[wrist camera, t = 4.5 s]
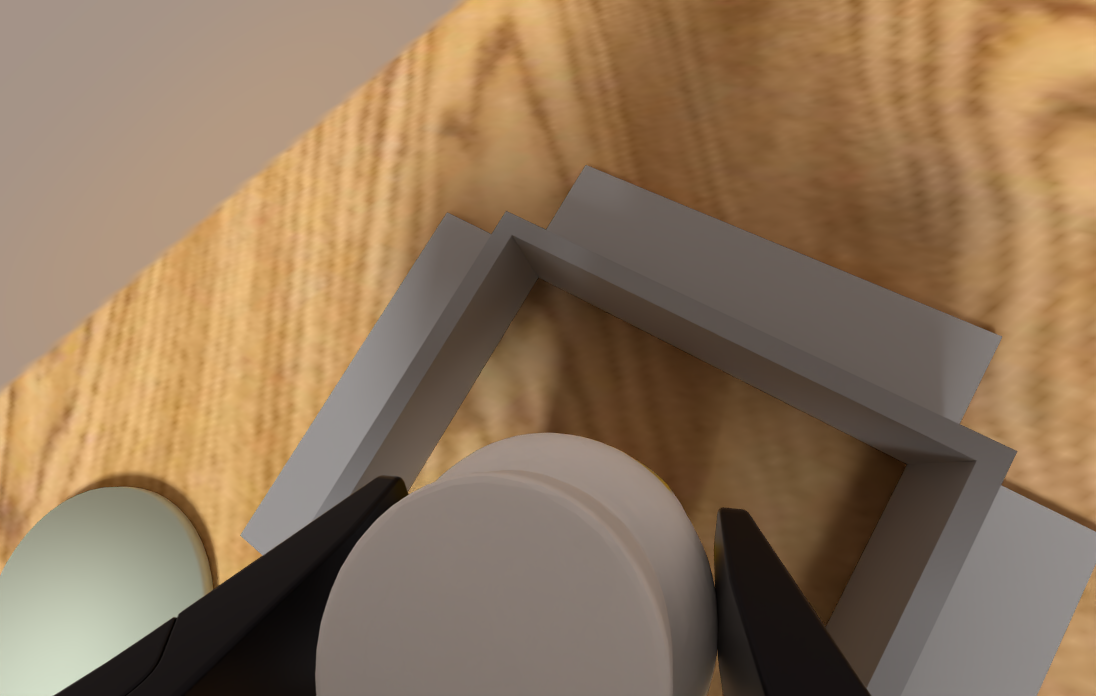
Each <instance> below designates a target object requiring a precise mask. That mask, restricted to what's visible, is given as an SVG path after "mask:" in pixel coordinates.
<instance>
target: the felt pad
mask: <svg viewBox="0 0 1096 696" xmlns="http://www.w3.org/2000/svg"><path fill="white" fill-rule="evenodd" d="M212 590H213V583H212V575H211V570H210V566H209V561H208V558H207V555H206V552H205V549H204V546H203V543H202V541H201V539H200V537H199V535H198V533H197V531H196V529H195V528H194V526H193V525H192V523H191V522H190V520H189V519H188V517H187V516H186V515H185V514H184V513H183V512H182V511H181V510H180V509H179V508H178V507H177V506H176V505H175V504H173V503H172V502H171V501H170V500H168V499H167V498H165V497H163V496H161V495H159V494H157V493H155V492H153V491H149V490H146V489H143V488H136V487H104V488H99V489H94V490H89V491H87V492H84V493H81V494H79V495H76V496H74V497H72V498H70V499H68V500H66V501H65V502H63V503H61V504H60V505H58V506H57V507H56V508H54V509H53V510H51V511H50V512H49V513H48V514H46V515H45V516H44V517H43V518H42V519H41V520H40V521H39V522H37V524H36V525H35V526H34V527H33V528H32V529H31V530H30V531H29V532H28V533H27V534H26V536H25V537H24V538H23V540H22V541H21V542H20V544H19V545H18V546H17V547H16V549H15V550H14V552H13V554H12V555H11V557H10V558H9V560H8V562H7V563H6V565H5V567H4V569H3V571H2V573H1V575H0V696H53V695H55V694H57V693H58V692H60V691H61V690H63V689H65V688H66V687H68V686H69V685H71V684H73V683H74V682H76V681H77V680H79V679H81V678H82V677H84V676H85V675H87V674H88V673H90V672H92V671H93V670H95V669H96V668H98V667H100V666H101V665H103V664H104V663H106V662H107V661H109V660H110V659H112V658H113V657H115V656H116V655H118V654H119V653H121V652H122V651H124V650H125V649H127V648H128V647H130V646H131V645H133V644H134V643H136V642H137V641H139V640H140V639H142V638H143V637H145V636H146V635H148V634H149V633H151V632H152V631H154V630H155V629H157V628H158V627H159V626H161V625H162V624H164V623H165V622H167V621H168V620H170V619H171V618H173V617H177V616H178V614H179V613H180V612H181V611H183V610H184V609H186V608H187V607H189V606H190V605H192V604H193V603H195V602H196V601H197V600H199V599H200V598H202V597H203V596H205V595H206V594H208V593H209V592H211V591H212Z"/></svg>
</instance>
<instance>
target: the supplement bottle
mask: <svg viewBox="0 0 1096 696" xmlns="http://www.w3.org/2000/svg"><path fill="white" fill-rule="evenodd" d="M717 644H718V612H717V597H716V591H715V586H714V582H713V577H712V573H711V569H710V565H709V561H708V557H707V555H706V552H705V550H704V547H703V545H702V543H701V541H700V539H699V537H698V535H697V533H696V531H695V529H694V527H693V525H692V523H691V521H690V520H689V518H688V516H687V515H686V513H685V511H684V509H683V507H682V505H681V503H680V502H679V500H678V499H677V497H676V496H675V495H674V493H673V492H672V490H671V489H670V488H669V486H668V485H667V483H665V482H664V481H663V479H661V478H660V477H659V476H658V475H657V474H656V473H655V472H653V471H652V470H651V469H650V468H648V467H647V466H645V465H644V464H642V463H640V462H639V461H637V460H636V459H634V458H632V457H631V456H629V455H628V454H626V453H624V452H623V451H621V450H619V449H617V448H614V447H612V446H610V445H607V444H604V443H602V442H599V441H596V440H593V439H589V438H586V437H582V436H576V435H570V434H560V433H534V434H525V435H519V436H514V437H511V438H507V439H503V440H500V441H497V442H494V443H491V444H489V445H487V446H485V447H483V448H481V449H479V450H477V451H475V452H473V453H472V454H470V455H469V456H467V457H466V458H464V459H463V460H461V461H460V462H458V463H457V464H455V465H454V466H453V467H451V468H450V469H449V470H448V471H446V472H445V473H444V474H443V475H442V476H440V477H439V478H438V479H437V480H436V481H435V482H433V483H431V484H428V485H426V486H424V487H422V488H420V489H418V490H416V491H414V492H412V493H411V494H409V495H408V496H406V497H404V498H403V499H401V500H400V501H398V502H397V503H396V504H394V505H393V506H391V507H390V508H389V509H388V510H387V511H386V512H385V513H383V514H382V515H381V516H380V517H379V518H378V519H377V520H376V521H375V522H374V523H373V524H372V525H371V526H370V527H369V529H368V530H367V531H366V532H365V533H364V534H363V536H362V537H361V538H360V539H359V540H358V542H357V543H356V545H355V546H354V548H353V549H352V551H351V552H350V554H349V555H348V557H347V559H346V560H345V562H344V564H343V565H342V567H341V569H340V571H339V573H338V575H337V578H336V580H335V582H334V585H333V587H332V589H331V592H330V595H329V598H328V601H327V604H326V607H325V610H324V614H323V617H322V620H321V625H320V631H319V637H318V644H317V650H316V672H315V681H316V696H707V693H708V691H709V687H710V684H711V680H712V677H713V673H714V667H715V661H716V656H717Z"/></svg>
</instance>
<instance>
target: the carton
mask: <svg viewBox="0 0 1096 696" xmlns="http://www.w3.org/2000/svg"><path fill="white" fill-rule="evenodd" d="M538 277H539V278H541V279H543V280H545V281H546V282H548V283H550V284H552V285H554V286H556V287H558V288H560V289H562V290H564V291H566V292H568V293H570V294H572V295H574V296H576V297H578V298H580V299H582V300H584V301H586V302H588V303H590V304H592V305H594V306H596V307H598V308H600V309H602V310H604V311H606V312H608V313H610V314H612V315H614V316H616V317H617V318H619V319H621V320H623V321H625V322H627V323H629V324H631V325H633V326H635V327H637V328H639V329H641V330H643V331H645V332H647V333H649V334H651V335H653V336H655V337H657V338H659V339H661V340H663V341H665V342H667V343H669V344H671V345H673V346H675V347H677V348H679V349H681V350H683V351H685V352H687V353H689V354H690V355H692V356H694V357H696V358H698V359H700V360H702V361H704V362H706V363H708V364H710V365H712V366H714V367H716V368H718V369H720V370H722V371H724V372H726V373H728V374H730V375H732V376H734V377H736V378H738V379H740V380H742V381H744V382H746V383H748V384H750V385H752V386H754V387H756V388H758V389H760V390H762V391H763V392H765V393H767V394H769V395H771V396H773V397H775V398H777V399H779V400H781V401H783V402H785V403H787V404H789V405H791V406H793V407H795V408H797V409H799V410H801V411H803V412H805V413H807V414H809V415H811V416H813V417H815V418H817V419H819V420H821V421H823V422H825V423H827V424H829V425H831V426H833V427H834V428H836V429H838V430H840V431H842V432H844V433H846V434H848V435H850V436H852V437H854V438H856V439H858V440H860V441H862V442H864V443H866V444H868V445H870V446H872V447H874V448H876V449H878V450H880V451H882V452H884V453H886V454H888V455H890V456H892V457H894V458H896V459H898V460H900V461H902V462H904V463H906V464H907V466H906V468H905V470H904V472H903V474H902V476H901V478H900V480H899V482H898V484H897V486H896V488H895V490H894V492H893V494H892V496H891V498H890V500H889V502H888V504H887V506H886V508H885V510H884V512H883V514H882V516H881V518H880V520H879V522H878V524H877V526H876V528H875V530H874V532H873V534H872V536H871V538H870V540H869V542H868V544H867V546H866V548H865V550H864V552H863V554H862V556H861V558H860V560H859V562H858V564H857V566H856V568H855V570H854V572H853V574H852V576H851V578H850V580H849V582H848V584H847V586H846V588H845V590H844V592H843V594H842V596H841V598H840V600H839V602H838V604H837V606H836V608H835V610H834V612H833V614H832V616H831V618H830V620H829V622H828V624H827V626H826V629H827V630H828V632H829V633H830V635H831V636H832V638H833V639H834V641H835V642H836V644H837V645H838V647H839V648H840V650H841V651H842V653H843V654H844V656H845V657H846V659H847V660H848V662H849V663H850V664H851V666H852V667H853V669H854V670H855V672H856V673H857V675H858V676H859V678H860V679H861V681H862V682H863V684H864V685H865V687H866V688H867V690H868V691H869V693H870V694H871V696H1037V694H1038V692H1039V690H1040V687H1041V685H1042V683H1043V681H1044V678H1045V676H1046V674H1047V672H1048V670H1049V667H1050V665H1051V663H1052V661H1053V658H1054V656H1055V654H1056V652H1057V649H1058V647H1059V645H1060V643H1061V640H1062V638H1063V636H1064V634H1065V632H1066V629H1067V627H1068V625H1069V623H1070V620H1071V618H1072V616H1073V614H1074V611H1075V609H1076V607H1077V605H1078V602H1079V600H1080V598H1081V596H1082V594H1083V591H1084V589H1085V587H1086V585H1087V582H1088V580H1089V578H1090V576H1091V573H1092V571H1093V569H1094V567H1095V564H1096V532H1095V531H1093V530H1091V529H1089V528H1087V527H1085V526H1083V525H1081V524H1079V523H1077V522H1075V521H1073V520H1071V519H1069V518H1067V517H1065V516H1063V515H1061V514H1059V513H1057V512H1054V511H1052V510H1050V509H1048V508H1046V507H1044V506H1042V505H1040V504H1038V503H1036V502H1034V501H1032V500H1030V499H1028V498H1026V497H1024V496H1022V495H1020V494H1018V493H1016V492H1014V491H1012V490H1010V489H1008V488H1006V487H1004V486H1002V485H1001V484H1002V482H1003V480H1004V478H1005V476H1006V474H1007V472H1008V470H1009V468H1010V466H1011V463H1012V461H1013V459H1014V457H1015V455H1016V453H1017V451H1016V450H1013V449H1011V448H1009V447H1007V446H1005V445H1003V444H1001V443H999V442H996V441H994V440H992V439H990V438H988V437H986V436H984V435H982V434H979V433H977V432H975V431H973V430H971V429H969V428H967V427H964V426H962V425H960V422H961V420H962V418H963V416H964V414H965V412H966V410H967V408H968V406H969V404H970V402H971V400H972V398H973V396H974V393H975V391H976V389H977V387H978V385H979V383H980V381H981V379H982V377H983V375H984V373H985V371H986V369H987V367H988V365H989V363H990V361H991V359H992V357H993V355H994V353H995V351H996V349H997V347H998V345H999V343H1000V341H1001V339H1002V336H1000V335H997V334H995V333H992V332H990V331H987V330H985V329H983V328H980V327H978V326H975V325H973V324H970V323H968V322H966V321H963V320H961V319H958V318H956V317H953V316H951V315H949V314H946V313H944V312H941V311H939V310H936V309H934V308H932V307H929V306H927V305H924V304H922V303H920V302H917V301H915V300H912V299H910V298H907V297H905V296H903V295H900V294H898V293H895V292H893V291H890V290H888V289H886V288H883V287H881V286H878V285H876V284H873V283H871V282H869V281H866V280H864V279H861V278H859V277H856V276H854V275H852V274H849V273H847V272H844V271H842V270H839V269H837V268H835V267H832V266H830V265H827V264H825V263H823V262H820V261H818V260H815V259H813V258H810V257H808V256H806V255H803V254H801V253H798V252H796V251H793V250H791V249H789V248H786V247H784V246H781V245H779V244H776V243H774V242H772V241H769V240H767V239H764V238H762V237H759V236H757V235H755V234H752V233H750V232H747V231H745V230H742V229H740V228H738V227H735V226H733V225H730V224H728V223H726V222H723V221H721V220H718V219H716V218H713V217H711V216H709V215H706V214H704V213H701V212H699V211H696V210H694V209H692V208H689V207H687V206H684V205H682V204H679V203H677V202H675V201H672V200H670V199H667V198H665V197H662V196H660V195H658V194H655V193H653V192H650V191H648V190H645V189H643V188H641V187H638V186H636V185H633V184H631V183H629V182H626V181H624V180H621V179H619V178H616V177H614V176H612V175H609V174H607V173H604V172H602V171H599V170H597V169H595V168H592V167H590V166H587V165H586V166H585V167H584V169H583V170H582V172H581V174H580V175H579V177H578V179H577V180H576V182H575V184H574V185H573V187H572V188H571V190H570V192H569V193H568V195H567V197H566V198H565V200H564V201H563V203H562V205H561V206H560V208H559V210H558V211H557V213H556V214H555V216H554V218H553V219H552V221H551V223H550V224H549V226H548V227H547V229H543V228H541V227H539V226H537V225H535V224H533V223H531V222H529V221H526V220H524V219H522V218H520V217H518V216H516V215H514V214H512V213H509V212H507V211H506V212H505V214H504V215H503V217H502V218H501V220H500V221H499V223H498V225H497V226H496V228H495V229H494V231H493V233H492V234H490V233H488V232H486V231H484V230H482V229H480V228H478V227H476V226H474V225H472V224H470V223H468V222H466V221H464V220H462V219H460V218H458V217H456V216H454V215H451V214H449V213H446V215H445V217H444V218H443V220H442V221H441V223H440V224H439V226H438V228H437V229H436V231H435V232H434V234H433V235H432V237H431V238H430V240H429V242H428V243H427V245H426V246H425V248H424V249H423V251H422V253H421V254H420V256H419V257H418V259H417V260H416V262H415V263H414V265H413V267H412V268H411V270H410V271H409V273H408V274H407V276H406V277H405V279H404V281H403V282H402V284H401V285H400V287H399V288H398V290H397V292H396V293H395V295H394V296H393V298H392V299H391V301H390V302H389V304H388V306H387V307H386V309H385V310H384V312H383V313H382V315H381V317H380V318H379V320H378V321H377V323H376V324H375V326H374V327H373V329H372V331H371V332H370V334H369V335H368V337H367V338H366V340H365V342H364V343H363V345H362V346H361V348H360V349H359V351H358V352H357V354H356V356H355V357H354V359H353V360H352V362H351V363H350V365H349V366H348V368H347V370H346V371H345V373H344V374H343V376H342V377H341V379H340V381H339V382H338V384H337V385H336V387H335V388H334V390H333V391H332V393H331V395H330V396H329V398H328V399H327V401H326V402H325V404H324V406H323V407H322V409H321V410H320V412H319V413H318V415H317V416H316V418H315V420H314V421H313V423H312V424H311V426H310V427H309V429H308V430H307V432H306V434H305V435H304V437H303V438H302V440H301V441H300V443H299V445H298V446H297V448H296V449H295V451H294V452H293V454H292V455H291V457H290V459H289V460H288V462H287V463H286V465H285V466H284V468H283V470H282V471H281V473H280V474H279V476H278V477H277V479H276V480H275V482H274V484H273V485H272V487H271V488H270V490H269V491H268V493H267V494H266V496H265V498H264V499H263V501H262V502H261V504H260V505H259V507H258V509H257V510H256V512H255V513H254V515H253V516H252V518H251V519H250V521H249V523H248V524H247V526H246V527H245V529H244V530H243V532H242V534H241V535H240V536H241V537H243V538H244V539H245V540H246V541H247V542H248V543H249V544H250V545H252V546H253V547H254V548H255V549H256V550H257V551H258V552H260V553H261V554H262V555H264V554H266V553H267V552H269V551H270V550H271V549H273V548H274V547H276V546H277V545H279V544H280V543H282V542H283V541H284V540H286V539H287V538H289V537H290V536H292V535H293V534H295V533H296V532H298V531H299V530H300V529H302V528H303V527H305V526H306V525H308V524H309V523H311V522H312V521H313V520H315V519H316V518H318V517H319V516H321V515H322V514H324V513H325V512H327V511H328V510H329V509H331V508H332V507H334V506H335V505H337V504H338V503H340V502H341V501H342V500H344V499H345V498H347V497H348V496H350V495H351V494H353V493H354V492H356V491H357V490H358V489H360V488H361V487H363V486H364V485H366V484H367V483H369V482H370V481H371V480H373V479H374V478H376V477H378V476H380V475H388V476H399V477H401V478H402V479H403V480H404V482H405V485H406V488H407V491H409V489H410V487H411V486H412V484H413V482H414V481H415V479H416V477H417V476H418V474H419V472H420V471H421V469H422V468H423V466H424V464H425V463H426V461H427V459H428V458H429V456H430V454H431V453H432V451H433V449H434V448H435V446H436V445H437V443H438V441H439V440H440V438H441V436H442V435H443V433H444V431H445V430H446V428H447V426H448V425H449V423H450V422H451V420H452V418H453V417H454V415H455V413H456V412H457V410H458V408H459V407H460V405H461V404H462V402H463V400H464V399H465V397H466V395H467V394H468V392H469V390H470V389H471V387H472V385H473V384H474V382H475V381H476V379H477V377H478V376H479V374H480V372H481V371H482V369H483V367H484V366H485V364H486V362H487V361H488V359H489V358H490V356H491V354H492V353H493V351H494V349H495V348H496V346H497V344H498V343H499V341H500V339H501V338H502V336H503V335H504V333H505V331H506V330H507V328H508V326H509V325H510V323H511V321H512V320H513V318H514V317H515V315H516V313H517V312H518V310H519V308H520V307H521V305H522V303H523V302H524V300H525V298H526V297H527V295H528V294H529V292H530V290H531V289H532V287H533V285H534V284H535V282H536V280H537V279H538Z"/></svg>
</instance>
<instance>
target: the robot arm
mask: <svg viewBox="0 0 1096 696" xmlns="http://www.w3.org/2000/svg"><path fill="white" fill-rule="evenodd" d="M408 495H409V494H408V491H407V488H406V485H405V482H404V480H403V479H402V478H401V477H399V476H388V475H380V476H378V477H376V478H374V479H373V480H371V481H370V482H369V483H367V484H366V485H364V486H363V487H361V488H360V489H358V490H357V491H356V492H354V493H353V494H351V495H350V496H348V497H347V498H345V499H344V500H342V501H341V502H340V503H338V504H337V505H335V506H334V507H332V508H331V509H329V510H328V511H327V512H325V513H324V514H322V515H321V516H319V517H318V518H316V519H315V520H313V521H312V522H311V523H309V524H308V525H306V526H305V527H303V528H302V529H300V530H299V531H298V532H296V533H295V534H293V535H292V536H290V537H289V538H287V539H286V540H284V541H283V542H282V543H280V544H279V545H277V546H276V547H274V548H273V549H271V550H270V551H269V552H267V553H266V554H264V555H263V556H261V557H260V558H258V559H257V560H255V561H254V562H253V563H251V564H250V565H248V566H247V567H245V568H244V569H242V570H241V571H240V572H238V573H237V574H235V575H234V576H232V577H231V578H229V579H228V580H226V581H225V582H224V583H222V584H221V585H219V586H218V587H216V588H215V589H213V590H212V591H211V592H209V593H208V594H206V595H205V596H203V597H202V598H200V599H199V600H197V601H196V602H195V603H193V604H192V605H190V606H189V607H187V608H186V609H184V610H183V611H181V612H180V613H179V614H178V616H177V617H173V618H171V619H170V620H168V621H167V622H165V623H164V624H162V625H161V626H159V627H158V628H157V629H155V630H154V631H152V632H151V633H149V634H148V635H146V636H145V637H143V638H142V639H140V640H139V641H137V642H136V643H134V644H133V645H131V646H130V647H128V648H127V649H125V650H124V651H122V652H121V653H119V654H118V655H116V656H115V657H113V658H112V659H110V660H109V661H107V662H106V663H104V664H103V665H101V666H100V667H98V668H96V669H95V670H93V671H92V672H90V673H88V674H87V675H85V676H84V677H82V678H81V679H79V680H77V681H76V682H74V683H73V684H71V685H69V686H68V687H66V688H65V689H63V690H61V691H60V692H58V693H57V694H55V695H53V696H316V681H315V672H316V650H317V644H318V637H319V631H320V625H321V620H322V617H323V614H324V610H325V607H326V604H327V601H328V598H329V595H330V592H331V589H332V587H333V585H334V582H335V580H336V578H337V575H338V573H339V571H340V569H341V567H342V565H343V564H344V562H345V560H346V559H347V557H348V555H349V554H350V552H351V551H352V549H353V548H354V546H355V545H356V543H357V542H358V540H359V539H360V538H361V537H362V536H363V534H364V533H365V532H366V531H367V530H368V529H369V527H370V526H371V525H372V524H373V523H374V522H375V521H376V520H377V519H378V518H379V517H380V516H381V515H382V514H383V513H385V512H386V511H387V510H388V509H389V508H390V507H391V506H393V505H394V504H396V503H397V502H398V501H400V500H401V499H403V498H404V497H406V496H408ZM714 569H715V591H716V597H717V612H718V644H717V650H718V661H719V669H720V676H721V683H722V690H723V696H871V694H870V693H869V691H868V690H867V688H866V687H865V685H864V684H863V682H862V681H861V679H860V678H859V676H858V675H857V673H856V672H855V670H854V669H853V667H852V666H851V664H850V663H849V662H848V660H847V659H846V657H845V656H844V654H843V653H842V651H841V650H840V648H839V647H838V645H837V644H836V642H835V641H834V639H833V638H832V636H831V635H830V633H829V632H828V630H827V629H826V627H825V626H824V624H823V623H822V621H821V620H820V618H819V617H818V615H817V614H816V612H815V611H814V609H813V608H812V606H811V605H810V603H809V602H808V601H807V599H806V598H805V596H804V595H803V593H802V592H801V590H800V589H799V587H798V586H797V584H796V583H795V581H794V580H793V578H792V577H791V575H790V574H789V572H788V571H787V569H786V568H785V566H784V565H783V563H782V562H781V560H780V559H779V557H778V556H777V554H776V553H775V551H774V550H773V548H772V547H771V545H770V544H769V542H768V541H767V539H766V538H765V537H764V535H763V534H762V532H761V531H760V529H759V528H758V526H757V525H756V523H755V522H754V520H753V519H752V517H751V516H750V514H749V513H748V512H747V511H745V510H743V509H735V508H724V507H723V508H720V509H719V510H718V515H717V524H716V533H715V542H714Z"/></svg>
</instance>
